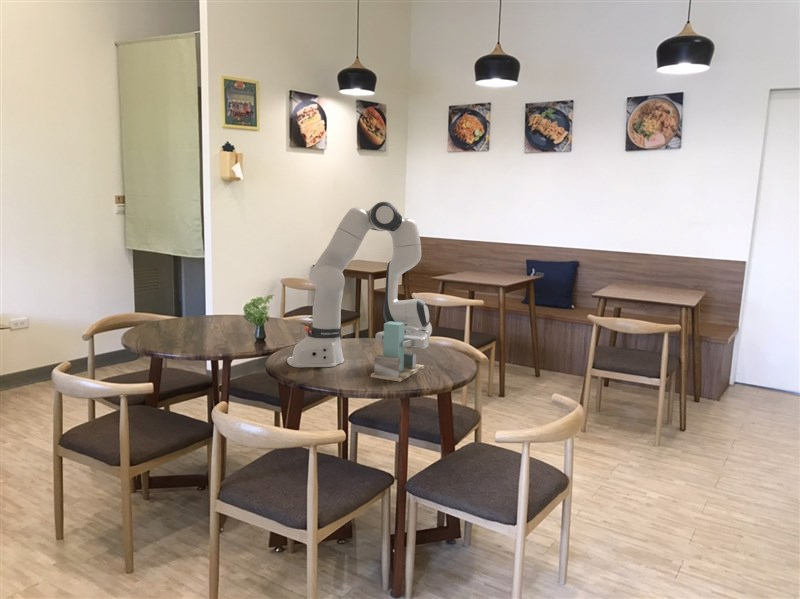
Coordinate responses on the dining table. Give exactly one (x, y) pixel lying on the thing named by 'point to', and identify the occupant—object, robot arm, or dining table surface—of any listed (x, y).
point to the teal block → (394, 340)
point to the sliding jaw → (409, 360)
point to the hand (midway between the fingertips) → (392, 343)
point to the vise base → (403, 373)
